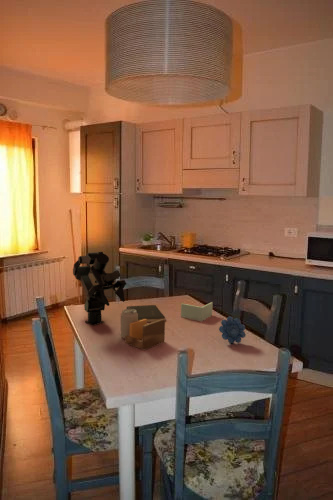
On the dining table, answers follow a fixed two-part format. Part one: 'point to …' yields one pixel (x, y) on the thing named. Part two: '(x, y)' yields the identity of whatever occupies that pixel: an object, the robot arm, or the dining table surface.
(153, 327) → the brown wooden crate
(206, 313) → the right angle wall
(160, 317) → the hardcover book
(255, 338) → the dining table surface
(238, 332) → the grapes
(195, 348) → the dining table surface
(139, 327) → the pusher
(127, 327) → the can
